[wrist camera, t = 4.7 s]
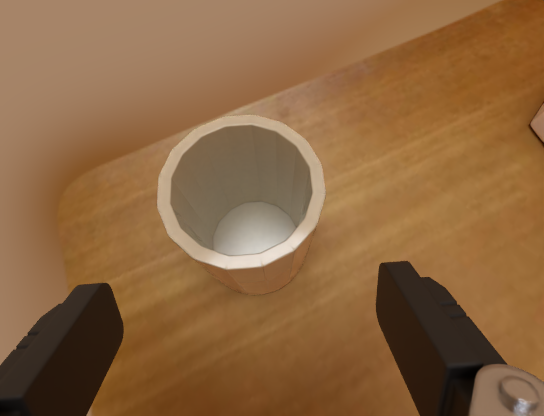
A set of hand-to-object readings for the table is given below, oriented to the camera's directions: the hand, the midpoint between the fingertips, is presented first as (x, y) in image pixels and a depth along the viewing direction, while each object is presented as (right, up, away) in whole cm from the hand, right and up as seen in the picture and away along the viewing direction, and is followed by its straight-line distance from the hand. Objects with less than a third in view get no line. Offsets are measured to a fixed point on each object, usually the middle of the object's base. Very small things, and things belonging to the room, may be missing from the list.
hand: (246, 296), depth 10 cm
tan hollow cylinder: (0, 0, +11) cm, 11 cm away
